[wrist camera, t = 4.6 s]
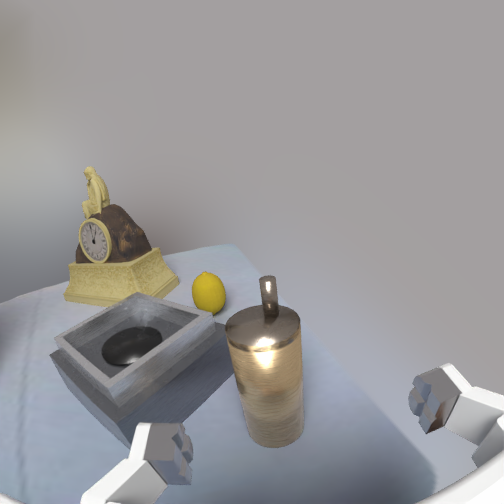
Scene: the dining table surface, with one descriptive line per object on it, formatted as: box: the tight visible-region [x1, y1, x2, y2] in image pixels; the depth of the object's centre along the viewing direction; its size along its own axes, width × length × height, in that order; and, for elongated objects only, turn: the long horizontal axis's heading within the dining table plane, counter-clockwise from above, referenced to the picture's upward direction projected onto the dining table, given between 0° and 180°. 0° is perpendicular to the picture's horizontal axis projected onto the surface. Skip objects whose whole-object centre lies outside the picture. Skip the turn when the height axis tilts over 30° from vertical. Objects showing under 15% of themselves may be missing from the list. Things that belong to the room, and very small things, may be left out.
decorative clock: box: [63, 166, 179, 307], centre depth 58 cm, size 28×13×30 cm, turn 74°
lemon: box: [192, 272, 226, 315], centre depth 48 cm, size 6×6×8 cm
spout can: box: [225, 276, 304, 448], centre depth 23 cm, size 6×6×16 cm
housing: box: [50, 292, 234, 449], centre depth 32 cm, size 18×18×8 cm
